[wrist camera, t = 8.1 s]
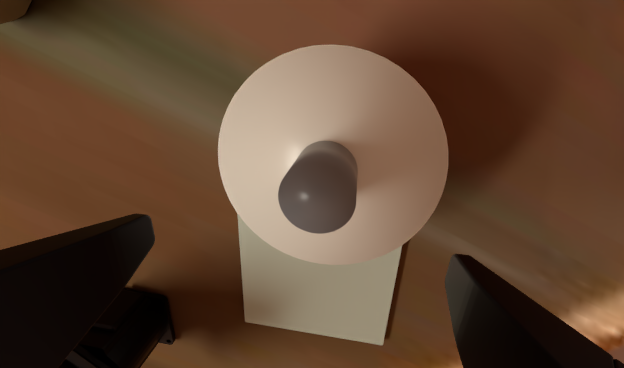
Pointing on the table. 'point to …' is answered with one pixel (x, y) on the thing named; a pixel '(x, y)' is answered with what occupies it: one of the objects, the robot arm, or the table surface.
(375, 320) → the mat
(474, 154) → the table surface
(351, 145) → the lid
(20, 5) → the squeeze bottle
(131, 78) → the table surface
